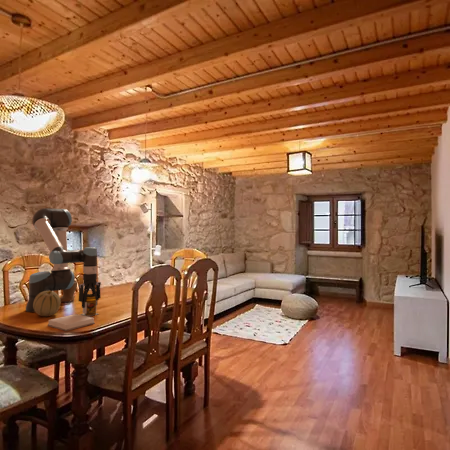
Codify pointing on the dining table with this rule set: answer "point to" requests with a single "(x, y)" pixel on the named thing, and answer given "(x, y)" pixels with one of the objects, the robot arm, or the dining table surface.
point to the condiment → (90, 305)
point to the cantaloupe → (46, 303)
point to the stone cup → (69, 293)
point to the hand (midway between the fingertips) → (89, 311)
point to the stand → (71, 322)
